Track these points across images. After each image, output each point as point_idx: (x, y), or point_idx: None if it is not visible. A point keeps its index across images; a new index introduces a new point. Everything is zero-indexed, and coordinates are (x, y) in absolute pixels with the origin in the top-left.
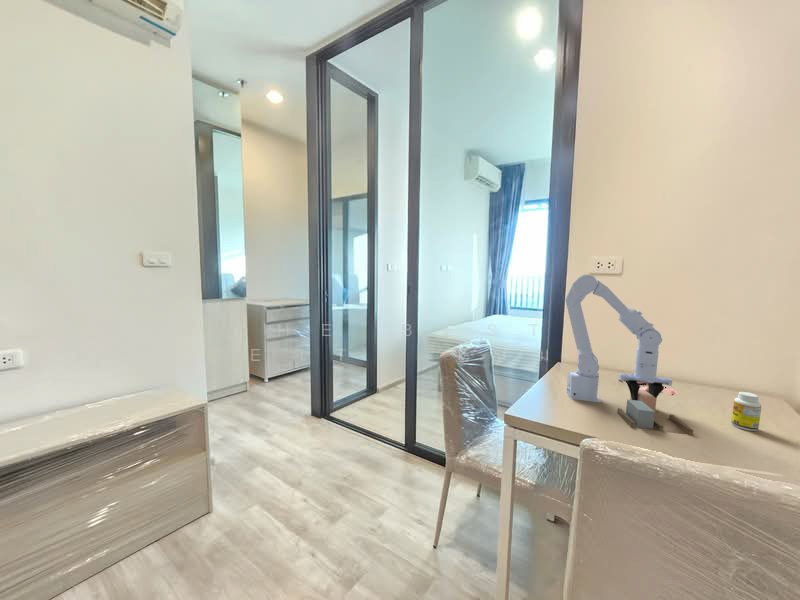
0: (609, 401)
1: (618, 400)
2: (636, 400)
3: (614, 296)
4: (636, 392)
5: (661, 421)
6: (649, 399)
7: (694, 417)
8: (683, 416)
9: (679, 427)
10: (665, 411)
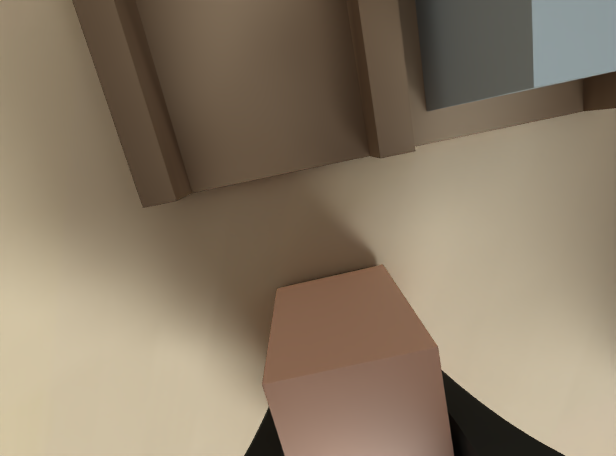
0: (557, 391)
1: None
2: None
3: None
4: (493, 442)
5: (266, 85)
6: (342, 348)
7: (8, 372)
8: (79, 352)
9: (136, 2)
10: (189, 390)
